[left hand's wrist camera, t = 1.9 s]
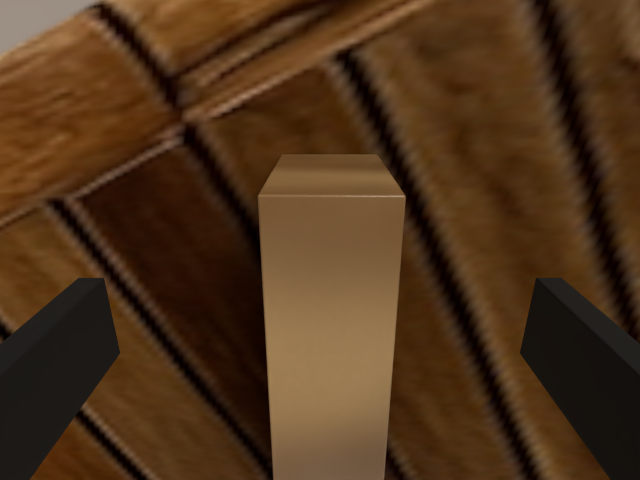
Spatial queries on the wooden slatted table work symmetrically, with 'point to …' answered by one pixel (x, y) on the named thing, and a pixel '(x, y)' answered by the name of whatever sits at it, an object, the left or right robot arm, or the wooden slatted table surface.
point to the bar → (330, 312)
